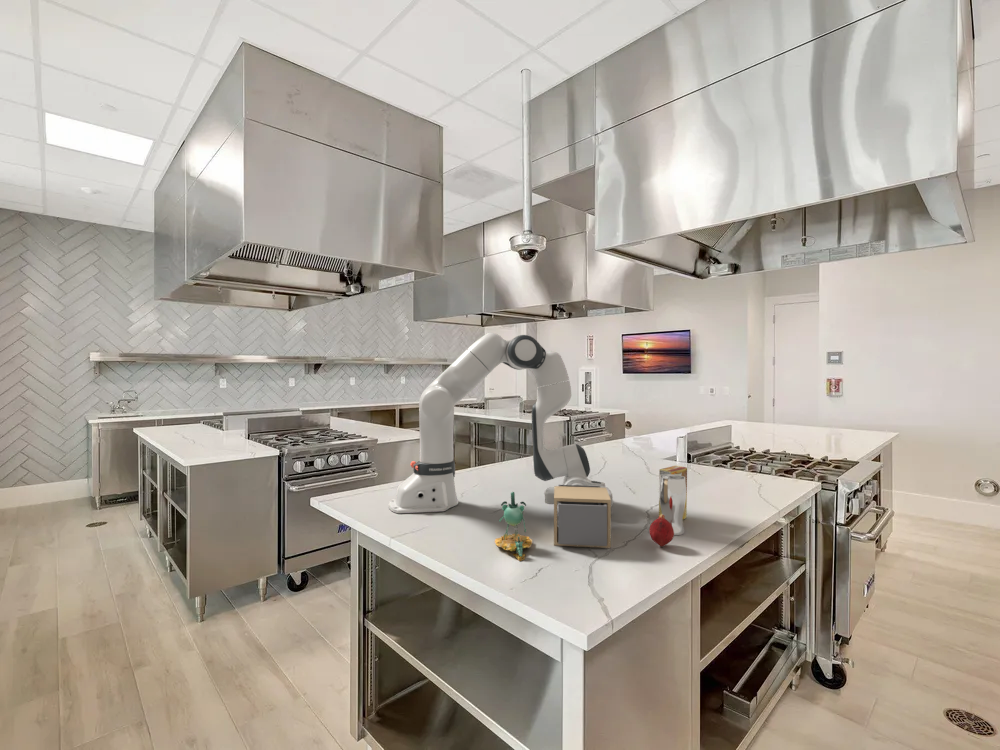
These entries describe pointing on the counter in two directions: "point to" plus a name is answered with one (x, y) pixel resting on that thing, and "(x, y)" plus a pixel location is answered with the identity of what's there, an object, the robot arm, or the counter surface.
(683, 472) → the candy box
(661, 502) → the beer glass
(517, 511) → the frog figurine
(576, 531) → the grey open box
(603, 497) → the sleeve
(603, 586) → the counter surface
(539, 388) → the robot arm
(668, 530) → the onion
